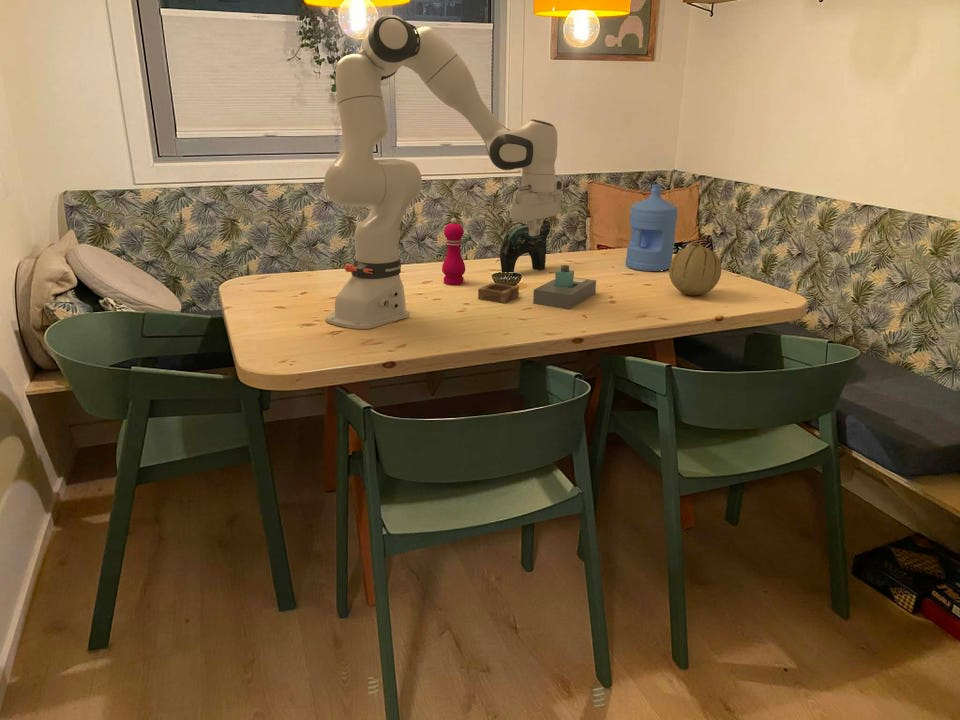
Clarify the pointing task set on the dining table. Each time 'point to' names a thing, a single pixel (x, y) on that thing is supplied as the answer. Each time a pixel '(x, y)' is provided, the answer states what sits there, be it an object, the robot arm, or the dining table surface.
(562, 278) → the plug
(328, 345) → the dining table surface
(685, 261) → the cantaloupe
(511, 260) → the dark green animal figurine
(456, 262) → the pepper mill
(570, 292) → the block
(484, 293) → the brown wooden box
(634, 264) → the water jug
